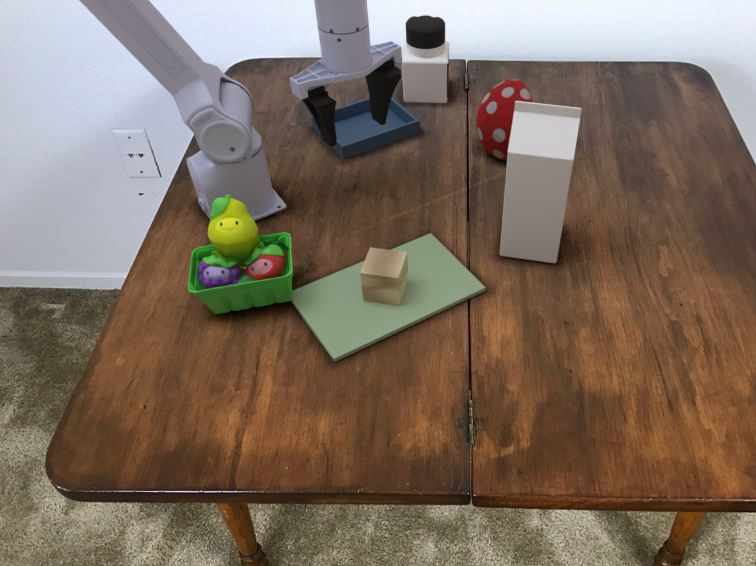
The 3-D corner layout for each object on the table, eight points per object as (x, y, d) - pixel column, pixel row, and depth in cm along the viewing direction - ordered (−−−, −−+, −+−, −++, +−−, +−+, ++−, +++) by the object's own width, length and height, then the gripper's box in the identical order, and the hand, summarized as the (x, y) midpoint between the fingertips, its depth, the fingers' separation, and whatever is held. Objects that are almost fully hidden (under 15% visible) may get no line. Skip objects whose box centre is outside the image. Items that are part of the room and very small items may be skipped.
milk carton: (556, 264, 83) (579, 126, 69) (499, 256, 84) (510, 118, 70) (561, 228, 88) (584, 92, 74) (507, 221, 89) (519, 85, 75)
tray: (343, 161, 98) (342, 146, 96) (313, 130, 103) (311, 115, 102) (420, 134, 103) (419, 120, 101) (387, 106, 108) (386, 92, 106)
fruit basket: (202, 325, 76) (164, 249, 68) (206, 272, 82) (172, 197, 74) (303, 307, 77) (278, 230, 69) (300, 257, 83) (277, 180, 75)
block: (363, 300, 78) (359, 272, 75) (373, 275, 81) (370, 247, 78) (400, 306, 78) (398, 278, 74) (408, 280, 81) (407, 252, 77)
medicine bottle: (447, 104, 109) (448, 29, 100) (403, 104, 109) (400, 28, 100) (448, 82, 113) (449, 9, 104) (406, 82, 113) (403, 8, 105)
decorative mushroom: (587, 78, 97) (498, 56, 90) (595, 150, 95) (505, 134, 88) (542, 115, 107) (458, 98, 100) (549, 181, 105) (464, 168, 98)
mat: (334, 362, 73) (333, 358, 72) (287, 296, 79) (286, 292, 79) (485, 291, 80) (485, 287, 80) (430, 236, 87) (430, 232, 86)
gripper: (374, -5, 81) (381, 100, 91) (267, 29, 75) (288, 138, 85) (410, 14, 77) (414, 122, 88) (302, 52, 71) (319, 163, 81)
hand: (354, 131), depth 86 cm, fingers open, 7 cm apart
